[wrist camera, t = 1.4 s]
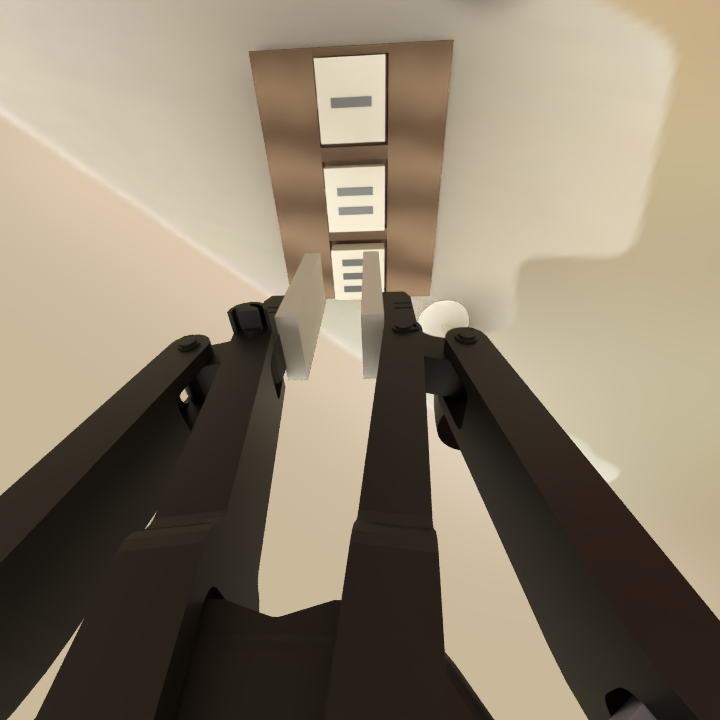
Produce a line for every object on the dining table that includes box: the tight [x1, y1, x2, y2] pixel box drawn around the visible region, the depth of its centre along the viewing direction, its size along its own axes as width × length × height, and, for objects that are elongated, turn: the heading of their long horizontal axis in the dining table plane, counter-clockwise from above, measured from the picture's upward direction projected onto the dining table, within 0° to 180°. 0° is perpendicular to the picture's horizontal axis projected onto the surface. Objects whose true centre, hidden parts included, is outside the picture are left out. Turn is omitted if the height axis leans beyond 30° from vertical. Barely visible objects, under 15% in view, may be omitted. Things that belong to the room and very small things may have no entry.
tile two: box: [324, 164, 385, 232], centre depth 34 cm, size 6×6×3 cm
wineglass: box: [418, 300, 469, 450], centre depth 40 cm, size 8×9×20 cm
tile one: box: [314, 54, 385, 144], centre depth 30 cm, size 6×6×3 cm
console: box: [249, 40, 454, 299], centre depth 37 cm, size 24×18×3 cm
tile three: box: [331, 243, 384, 300], centre depth 39 cm, size 6×6×3 cm
